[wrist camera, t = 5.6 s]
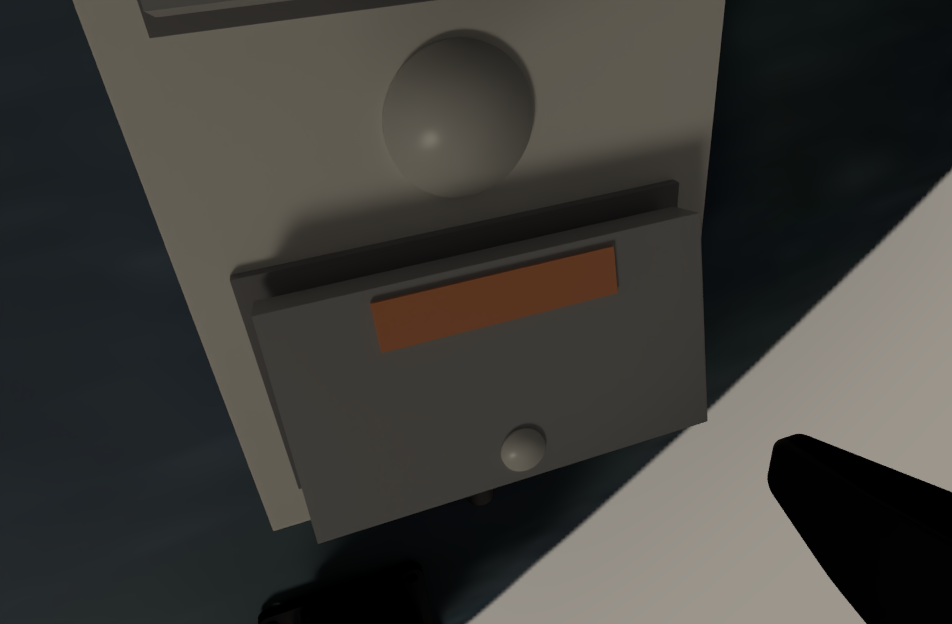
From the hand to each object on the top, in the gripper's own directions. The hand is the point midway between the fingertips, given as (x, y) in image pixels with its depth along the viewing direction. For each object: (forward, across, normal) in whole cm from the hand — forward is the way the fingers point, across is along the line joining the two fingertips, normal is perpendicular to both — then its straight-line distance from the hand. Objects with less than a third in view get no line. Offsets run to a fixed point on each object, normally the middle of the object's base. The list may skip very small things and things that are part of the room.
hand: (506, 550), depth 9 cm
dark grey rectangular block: (+8, -2, +2) cm, 8 cm away
